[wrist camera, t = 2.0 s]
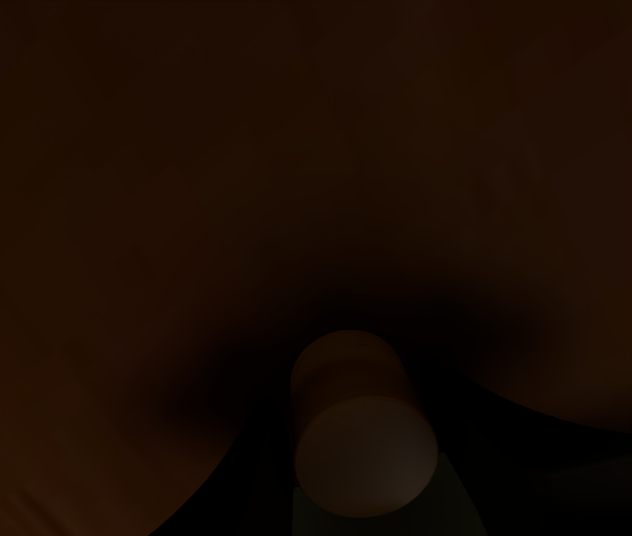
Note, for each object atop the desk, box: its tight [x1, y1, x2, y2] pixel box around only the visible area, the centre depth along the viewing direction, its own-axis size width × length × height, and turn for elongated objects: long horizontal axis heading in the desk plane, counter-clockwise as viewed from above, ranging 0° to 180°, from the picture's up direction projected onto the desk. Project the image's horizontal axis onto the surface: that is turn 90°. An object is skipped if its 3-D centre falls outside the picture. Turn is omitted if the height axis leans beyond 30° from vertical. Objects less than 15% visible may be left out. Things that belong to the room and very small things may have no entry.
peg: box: [290, 330, 439, 518], centre depth 14 cm, size 4×4×4 cm
